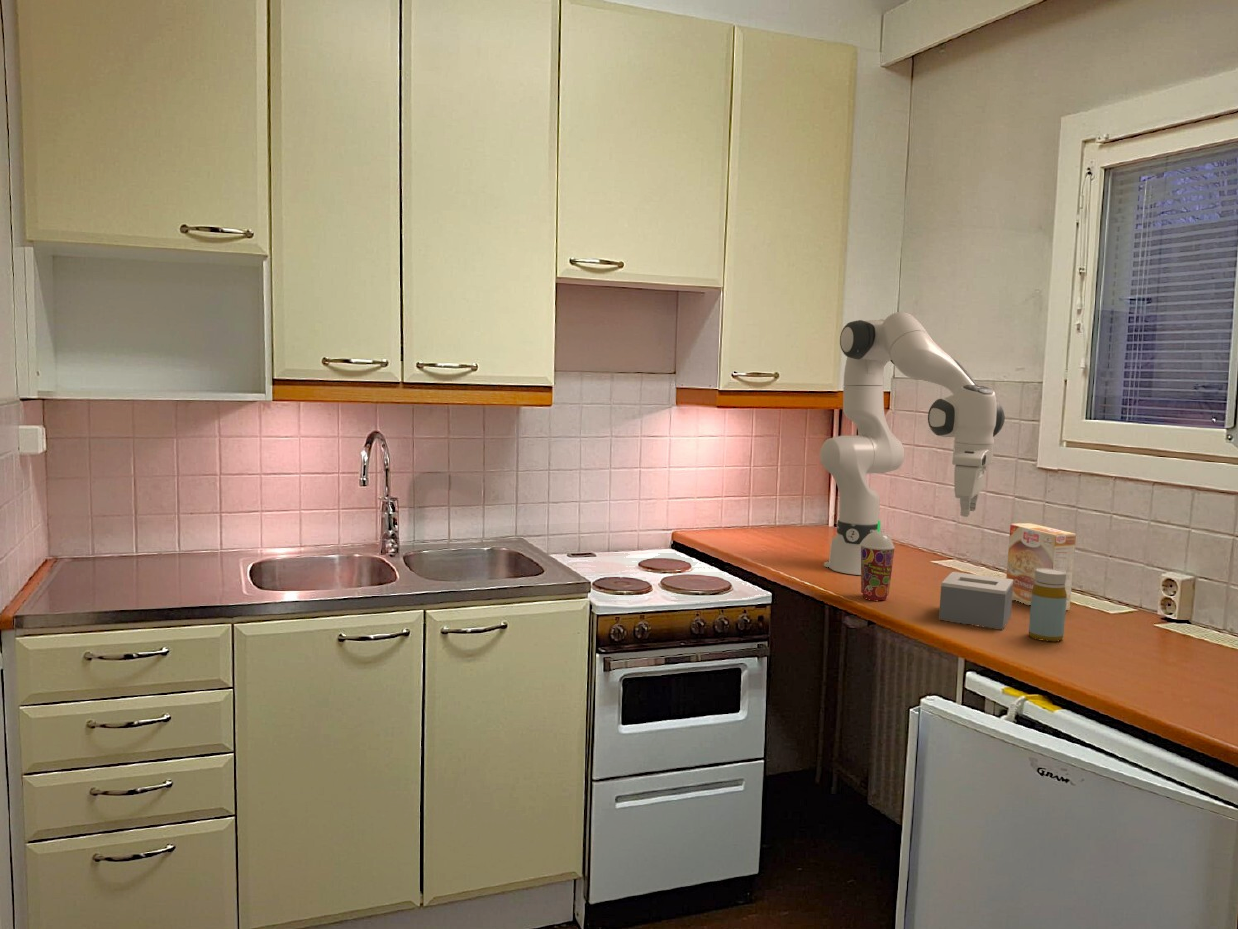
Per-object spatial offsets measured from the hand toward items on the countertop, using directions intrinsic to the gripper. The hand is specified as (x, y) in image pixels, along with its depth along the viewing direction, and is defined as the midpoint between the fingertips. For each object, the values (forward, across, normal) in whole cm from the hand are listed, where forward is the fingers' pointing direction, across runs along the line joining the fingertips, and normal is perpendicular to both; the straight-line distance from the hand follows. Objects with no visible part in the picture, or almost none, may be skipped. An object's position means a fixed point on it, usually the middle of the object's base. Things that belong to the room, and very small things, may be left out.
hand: (968, 513), depth 224 cm
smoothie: (+25, -4, -21) cm, 33 cm away
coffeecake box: (+25, -23, +15) cm, 37 cm away
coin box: (+25, +1, +4) cm, 25 cm away
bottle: (+25, +9, +20) cm, 33 cm away
